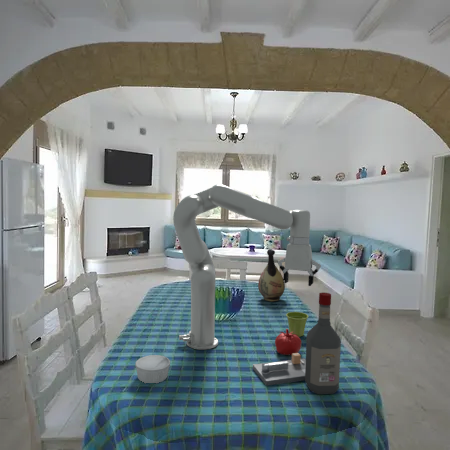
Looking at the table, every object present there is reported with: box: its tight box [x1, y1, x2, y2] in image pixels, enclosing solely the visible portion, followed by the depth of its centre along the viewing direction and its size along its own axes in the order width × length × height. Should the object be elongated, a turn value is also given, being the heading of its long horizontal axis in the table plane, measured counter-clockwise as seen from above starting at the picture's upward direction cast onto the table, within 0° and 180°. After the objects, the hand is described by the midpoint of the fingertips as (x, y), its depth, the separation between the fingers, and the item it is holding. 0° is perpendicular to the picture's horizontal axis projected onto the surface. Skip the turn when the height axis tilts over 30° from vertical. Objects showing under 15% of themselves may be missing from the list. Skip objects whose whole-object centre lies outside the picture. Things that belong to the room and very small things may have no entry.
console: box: [252, 357, 306, 387], centre depth 127 cm, size 20×12×2 cm, turn 107°
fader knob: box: [291, 352, 302, 364], centre depth 131 cm, size 2×2×3 cm
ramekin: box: [135, 354, 171, 384], centre depth 123 cm, size 11×11×5 cm
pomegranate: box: [274, 328, 302, 356], centre depth 144 cm, size 10×10×9 cm
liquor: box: [304, 292, 342, 395], centre depth 117 cm, size 9×9×30 cm
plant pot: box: [285, 311, 309, 338], centre depth 163 cm, size 9×9×9 cm
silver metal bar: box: [262, 360, 288, 373], centre depth 125 cm, size 9×2×2 cm, turn 107°
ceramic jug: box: [257, 248, 286, 302], centre depth 216 cm, size 17×15×30 cm
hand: (298, 283), depth 149 cm, fingers open, 9 cm apart
